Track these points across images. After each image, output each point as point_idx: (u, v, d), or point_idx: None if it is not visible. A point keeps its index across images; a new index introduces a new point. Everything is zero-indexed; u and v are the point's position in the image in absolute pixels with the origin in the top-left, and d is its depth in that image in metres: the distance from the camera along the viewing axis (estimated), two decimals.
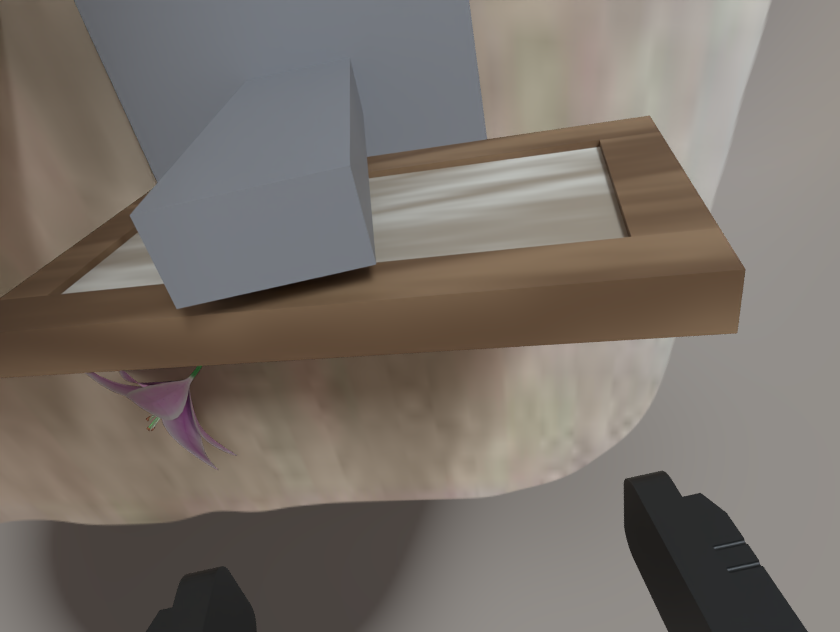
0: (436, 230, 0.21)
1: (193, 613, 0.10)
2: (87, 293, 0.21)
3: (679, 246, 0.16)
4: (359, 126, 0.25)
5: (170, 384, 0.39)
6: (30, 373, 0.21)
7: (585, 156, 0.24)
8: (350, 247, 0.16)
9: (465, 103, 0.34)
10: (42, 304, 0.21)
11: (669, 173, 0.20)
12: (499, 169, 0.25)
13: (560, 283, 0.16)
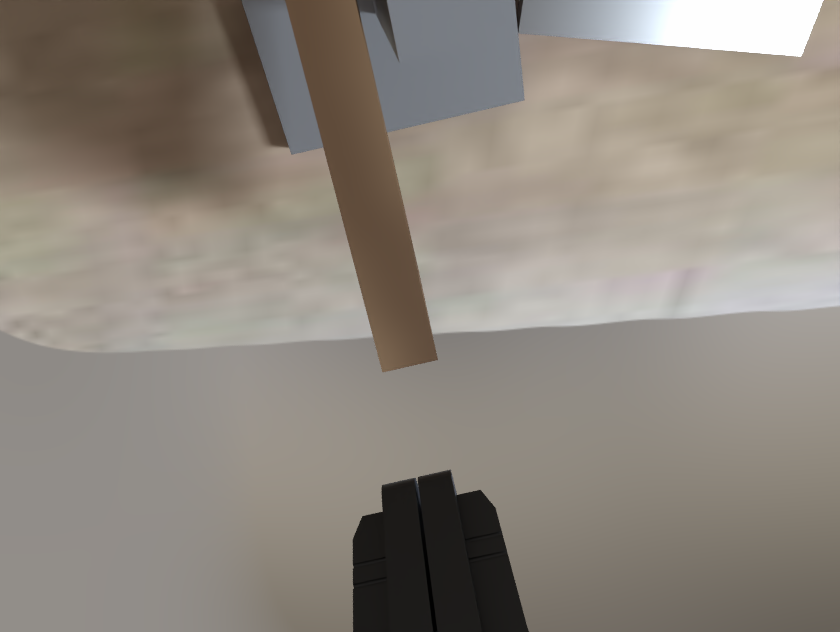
0: None
1: (405, 513, 0.11)
2: None
3: None
4: None
5: None
6: None
7: None
8: (418, 37, 0.17)
9: (385, 117, 0.38)
10: None
11: None
12: None
13: (408, 234, 0.19)
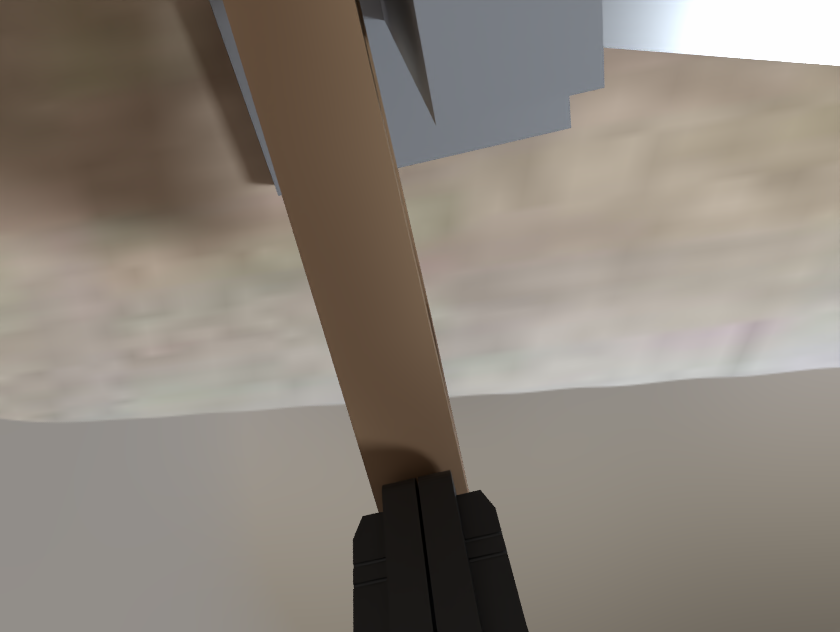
0: None
1: (405, 513, 0.11)
2: None
3: None
4: None
5: None
6: None
7: None
8: (470, 82, 0.10)
9: (395, 149, 0.30)
10: None
11: (449, 401, 0.20)
12: None
13: (446, 398, 0.12)
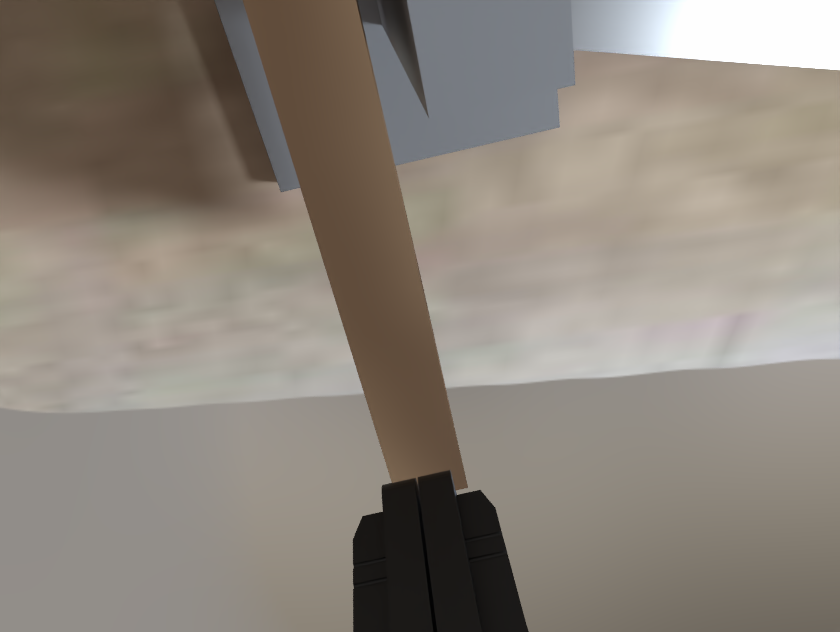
0: None
1: (405, 513, 0.11)
2: None
3: (452, 419, 0.17)
4: None
5: None
6: None
7: None
8: (458, 80, 0.11)
9: (393, 147, 0.32)
10: None
11: None
12: None
13: (436, 349, 0.14)
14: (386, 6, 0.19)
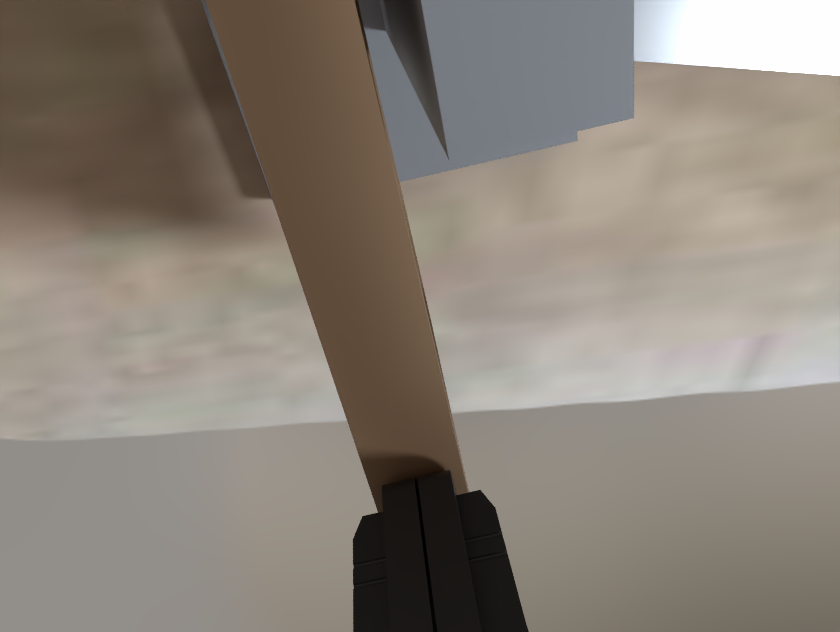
0: None
1: (405, 513, 0.11)
2: None
3: None
4: None
5: None
6: None
7: None
8: (487, 113, 0.09)
9: (397, 163, 0.29)
10: None
11: None
12: None
13: (453, 427, 0.12)
14: (392, 13, 0.17)
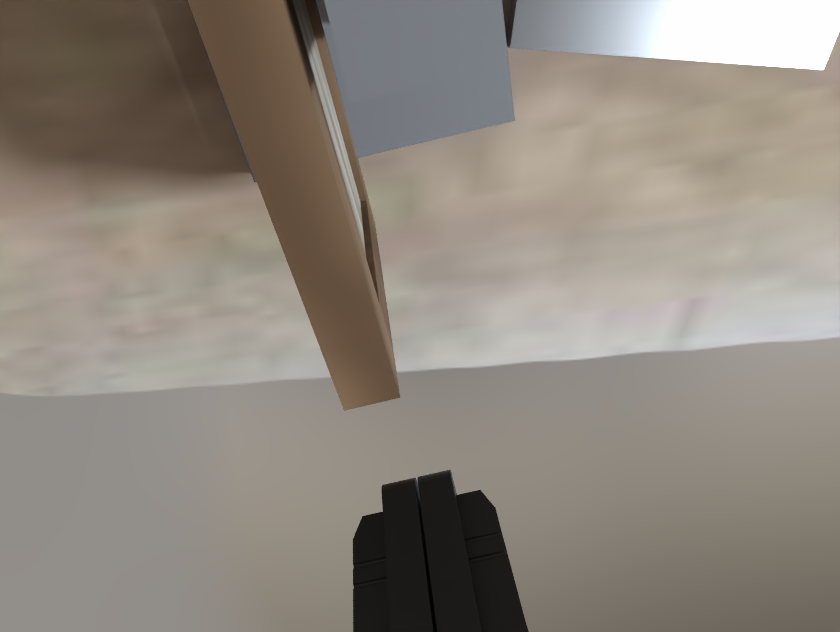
0: None
1: (405, 513, 0.11)
2: None
3: (388, 343, 0.20)
4: None
5: None
6: None
7: (357, 197, 0.27)
8: (372, 69, 0.13)
9: (358, 140, 0.34)
10: None
11: (382, 282, 0.25)
12: (336, 122, 0.25)
13: (368, 288, 0.17)
14: None
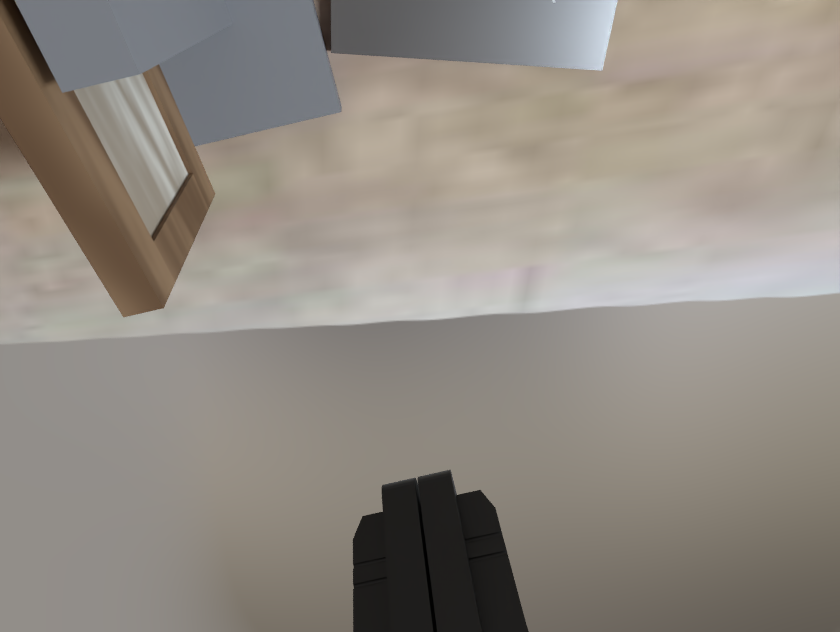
0: (99, 99, 0.27)
1: (405, 513, 0.11)
2: None
3: (159, 270, 0.28)
4: None
5: None
6: None
7: (180, 170, 0.35)
8: (72, 72, 0.21)
9: (212, 127, 0.41)
10: None
11: (189, 234, 0.33)
12: (151, 110, 0.32)
13: (117, 223, 0.25)
14: None
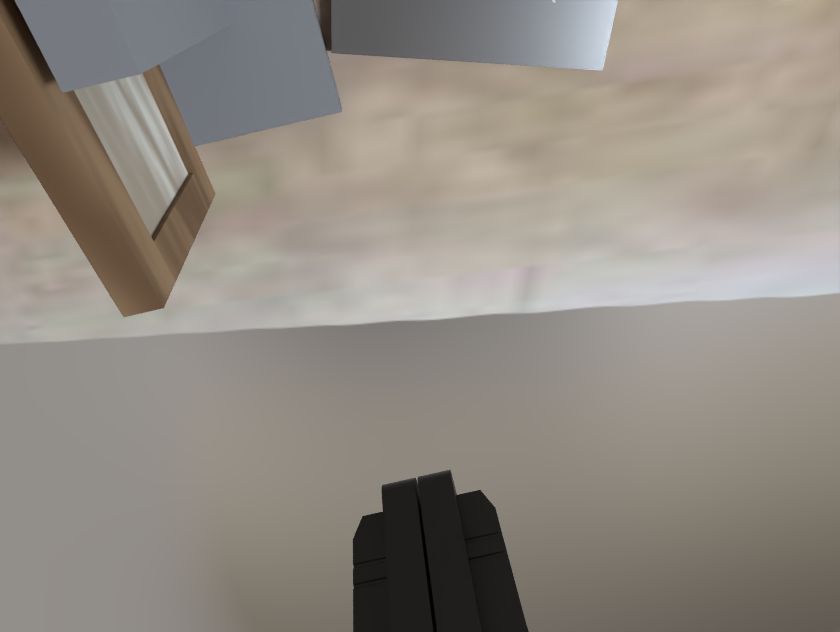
0: (100, 99, 0.27)
1: (405, 513, 0.11)
2: None
3: (159, 270, 0.28)
4: None
5: None
6: None
7: (180, 170, 0.35)
8: (72, 72, 0.21)
9: (212, 127, 0.41)
10: None
11: (190, 234, 0.33)
12: (151, 110, 0.32)
13: (117, 223, 0.25)
14: None
